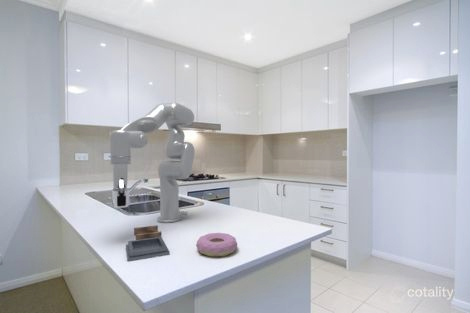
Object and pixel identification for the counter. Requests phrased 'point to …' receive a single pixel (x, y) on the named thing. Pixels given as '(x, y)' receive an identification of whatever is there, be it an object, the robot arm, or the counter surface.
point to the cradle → (146, 248)
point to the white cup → (115, 194)
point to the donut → (216, 244)
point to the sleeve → (147, 232)
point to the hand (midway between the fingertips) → (121, 203)
